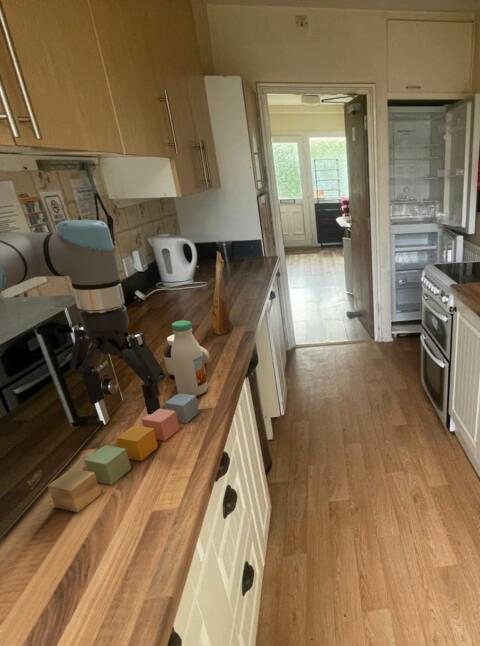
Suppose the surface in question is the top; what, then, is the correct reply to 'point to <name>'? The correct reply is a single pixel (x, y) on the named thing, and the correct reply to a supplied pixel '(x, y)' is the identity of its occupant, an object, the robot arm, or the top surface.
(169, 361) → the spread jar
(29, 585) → the top surface
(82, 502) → the birch block
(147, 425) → the dusty pink block
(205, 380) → the milk bottle
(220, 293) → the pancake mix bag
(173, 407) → the blue-grey block
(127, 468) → the sage block
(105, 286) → the robot arm
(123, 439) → the ochre block
